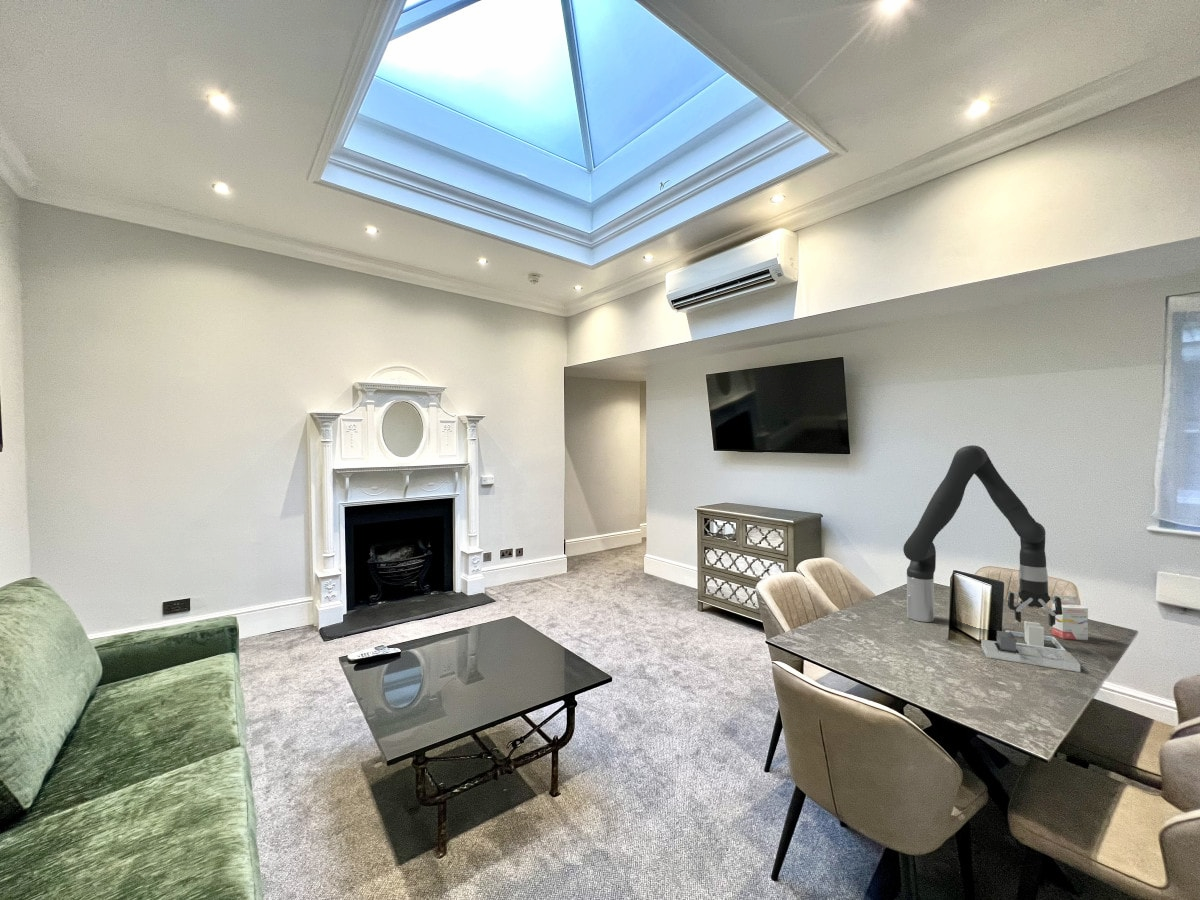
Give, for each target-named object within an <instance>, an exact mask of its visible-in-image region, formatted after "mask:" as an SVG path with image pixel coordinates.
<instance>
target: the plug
mask: <svg viewBox="0 0 1200 900" xmlns="http://www.w3.org/2000/svg"><path fill="white" fill-rule="evenodd" d="M1023 625H1024V633H1025V637H1024V641H1025V644H1029V645H1036V646H1042V647H1045V640H1044V635H1045V628H1044V627H1043V626H1042V625H1041V623H1039V622H1034V621H1033V622H1032V621H1027V620H1026V621H1025V620H1024V623H1023Z"/></svg>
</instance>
